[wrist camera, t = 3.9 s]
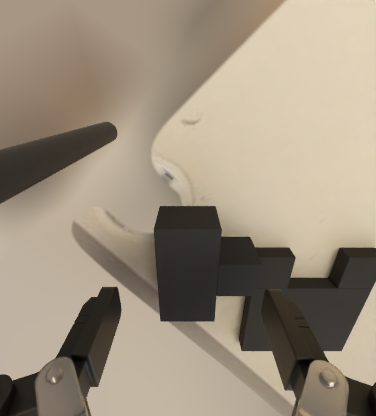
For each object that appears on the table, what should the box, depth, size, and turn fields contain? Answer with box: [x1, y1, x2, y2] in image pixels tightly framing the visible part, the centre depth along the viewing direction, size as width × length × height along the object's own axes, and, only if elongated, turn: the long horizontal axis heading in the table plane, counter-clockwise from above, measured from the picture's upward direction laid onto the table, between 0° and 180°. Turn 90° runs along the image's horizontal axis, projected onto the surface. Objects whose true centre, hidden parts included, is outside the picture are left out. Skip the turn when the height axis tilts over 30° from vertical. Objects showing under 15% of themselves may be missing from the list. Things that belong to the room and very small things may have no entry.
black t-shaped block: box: [154, 206, 262, 321], centre depth 20 cm, size 10×8×4 cm
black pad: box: [239, 248, 376, 351], centre depth 24 cm, size 12×14×2 cm
